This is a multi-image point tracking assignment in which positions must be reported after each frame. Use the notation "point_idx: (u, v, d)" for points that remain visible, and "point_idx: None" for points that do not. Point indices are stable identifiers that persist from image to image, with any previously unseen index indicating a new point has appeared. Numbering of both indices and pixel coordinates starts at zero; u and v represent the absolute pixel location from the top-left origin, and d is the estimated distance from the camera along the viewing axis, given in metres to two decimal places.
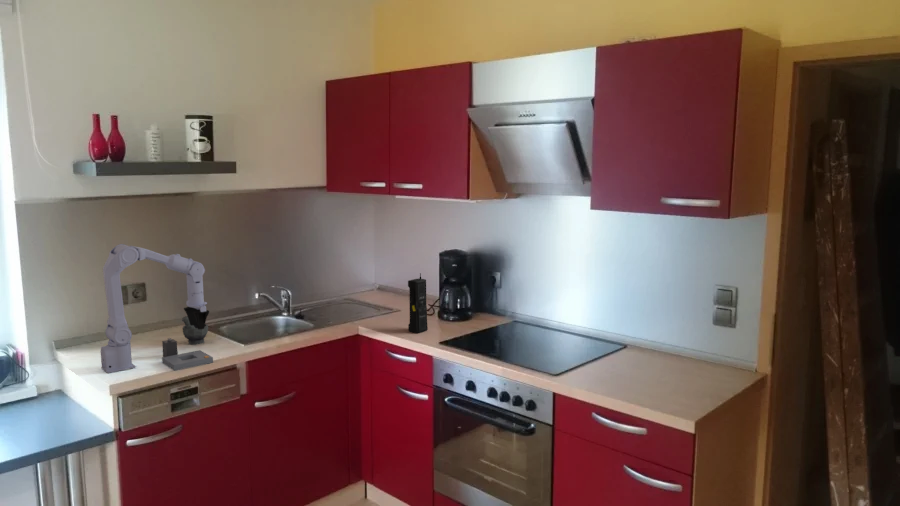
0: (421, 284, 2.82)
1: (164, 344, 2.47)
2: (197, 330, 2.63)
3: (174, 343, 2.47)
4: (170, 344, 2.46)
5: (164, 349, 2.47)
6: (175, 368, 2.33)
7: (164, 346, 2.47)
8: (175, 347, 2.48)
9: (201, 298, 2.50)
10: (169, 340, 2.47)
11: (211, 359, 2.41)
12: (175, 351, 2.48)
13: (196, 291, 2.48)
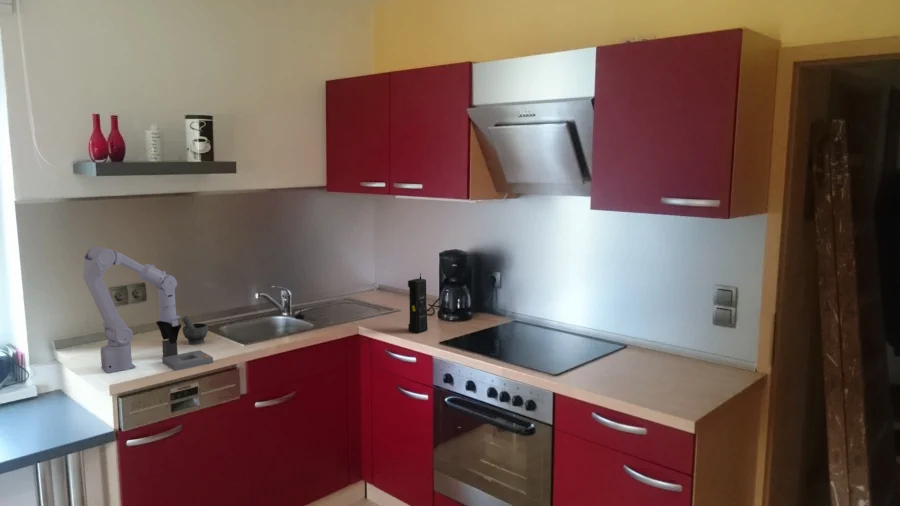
0: (421, 284, 2.82)
1: (164, 344, 2.47)
2: (197, 330, 2.63)
3: (174, 343, 2.47)
4: (170, 344, 2.46)
5: (164, 349, 2.47)
6: (175, 368, 2.33)
7: (164, 346, 2.47)
8: (175, 347, 2.48)
9: (173, 312, 2.45)
10: None
11: (211, 359, 2.41)
12: (175, 351, 2.48)
13: (169, 305, 2.44)
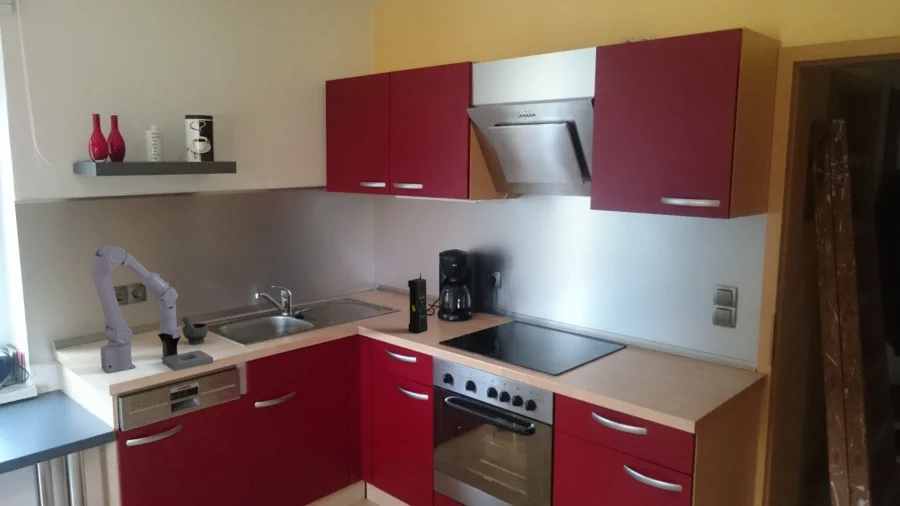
0: (421, 284, 2.82)
1: (164, 344, 2.47)
2: (197, 330, 2.63)
3: None
4: None
5: (164, 349, 2.47)
6: (175, 368, 2.33)
7: (164, 346, 2.47)
8: None
9: (174, 324, 2.46)
10: None
11: (211, 359, 2.41)
12: None
13: (169, 317, 2.44)
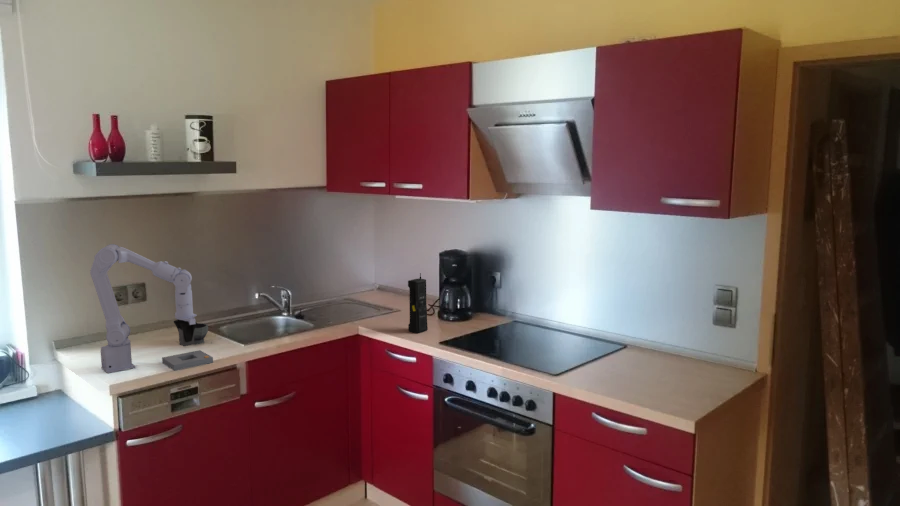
0: (421, 284, 2.82)
1: (181, 331, 2.38)
2: (197, 330, 2.63)
3: None
4: None
5: (181, 336, 2.39)
6: (175, 368, 2.33)
7: (181, 333, 2.39)
8: None
9: (190, 310, 2.38)
10: None
11: (211, 359, 2.41)
12: (192, 339, 2.40)
13: (181, 303, 2.35)
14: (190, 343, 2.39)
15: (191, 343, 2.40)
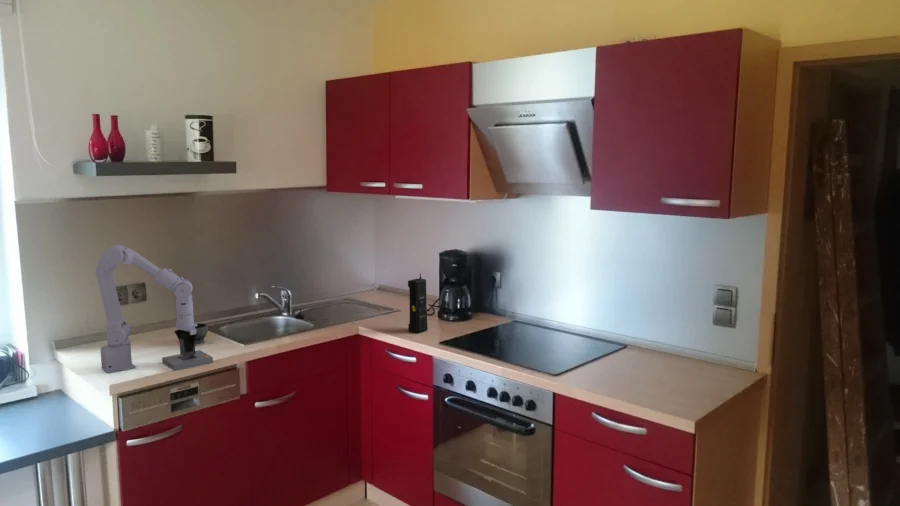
0: (421, 284, 2.82)
1: (181, 341, 2.39)
2: (197, 330, 2.63)
3: None
4: None
5: (181, 346, 2.39)
6: (175, 368, 2.33)
7: (181, 343, 2.39)
8: None
9: (191, 320, 2.38)
10: None
11: (211, 359, 2.41)
12: (193, 348, 2.40)
13: (182, 313, 2.36)
14: (191, 353, 2.40)
15: (192, 353, 2.40)
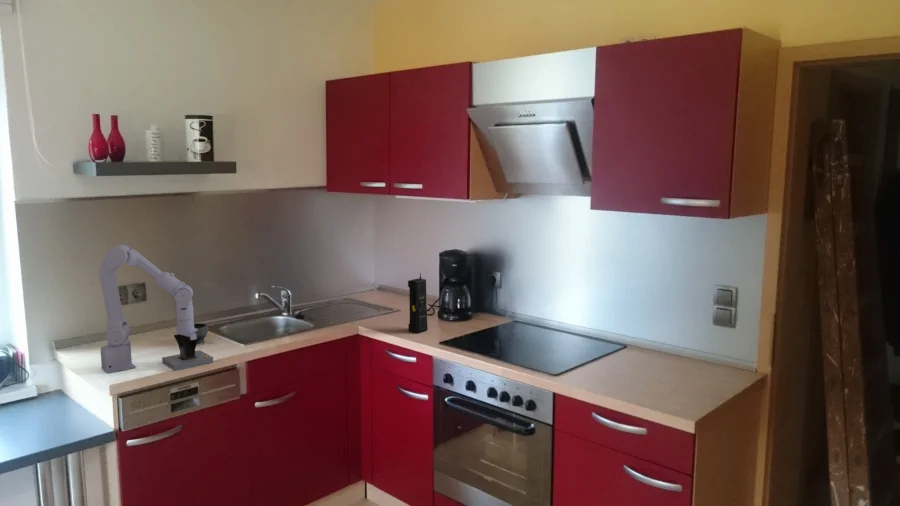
0: (421, 284, 2.82)
1: (182, 350, 2.39)
2: None
3: None
4: None
5: (182, 355, 2.40)
6: (175, 368, 2.33)
7: (182, 352, 2.39)
8: None
9: (191, 325, 2.38)
10: None
11: (211, 359, 2.41)
12: (193, 357, 2.41)
13: (182, 318, 2.36)
14: None
15: None
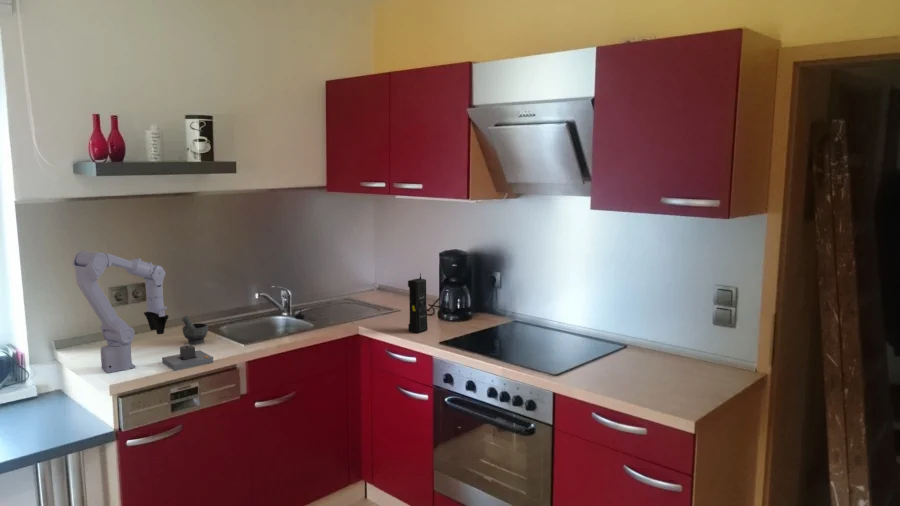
0: (421, 284, 2.82)
1: (182, 350, 2.39)
2: (197, 330, 2.63)
3: (192, 349, 2.40)
4: (188, 350, 2.39)
5: (182, 355, 2.40)
6: (175, 368, 2.33)
7: (182, 352, 2.39)
8: (193, 353, 2.40)
9: (160, 302, 2.45)
10: (187, 346, 2.40)
11: (211, 359, 2.41)
12: (193, 357, 2.41)
13: (158, 295, 2.44)
14: None
15: None
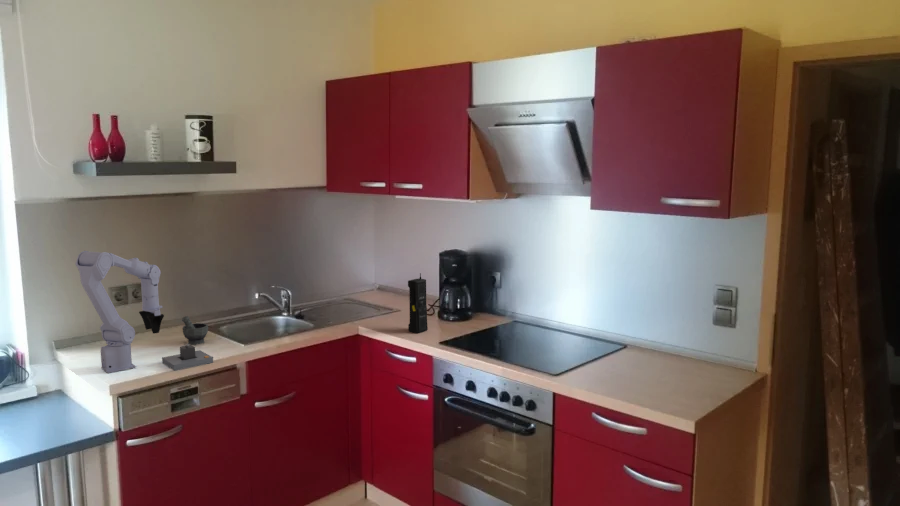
0: (421, 284, 2.82)
1: (182, 350, 2.39)
2: (197, 330, 2.63)
3: (192, 349, 2.40)
4: (188, 350, 2.39)
5: (182, 355, 2.40)
6: (175, 368, 2.33)
7: (182, 352, 2.39)
8: (193, 353, 2.40)
9: (156, 302, 2.46)
10: (187, 346, 2.40)
11: (211, 359, 2.41)
12: (193, 357, 2.41)
13: (154, 294, 2.46)
14: None
15: None
